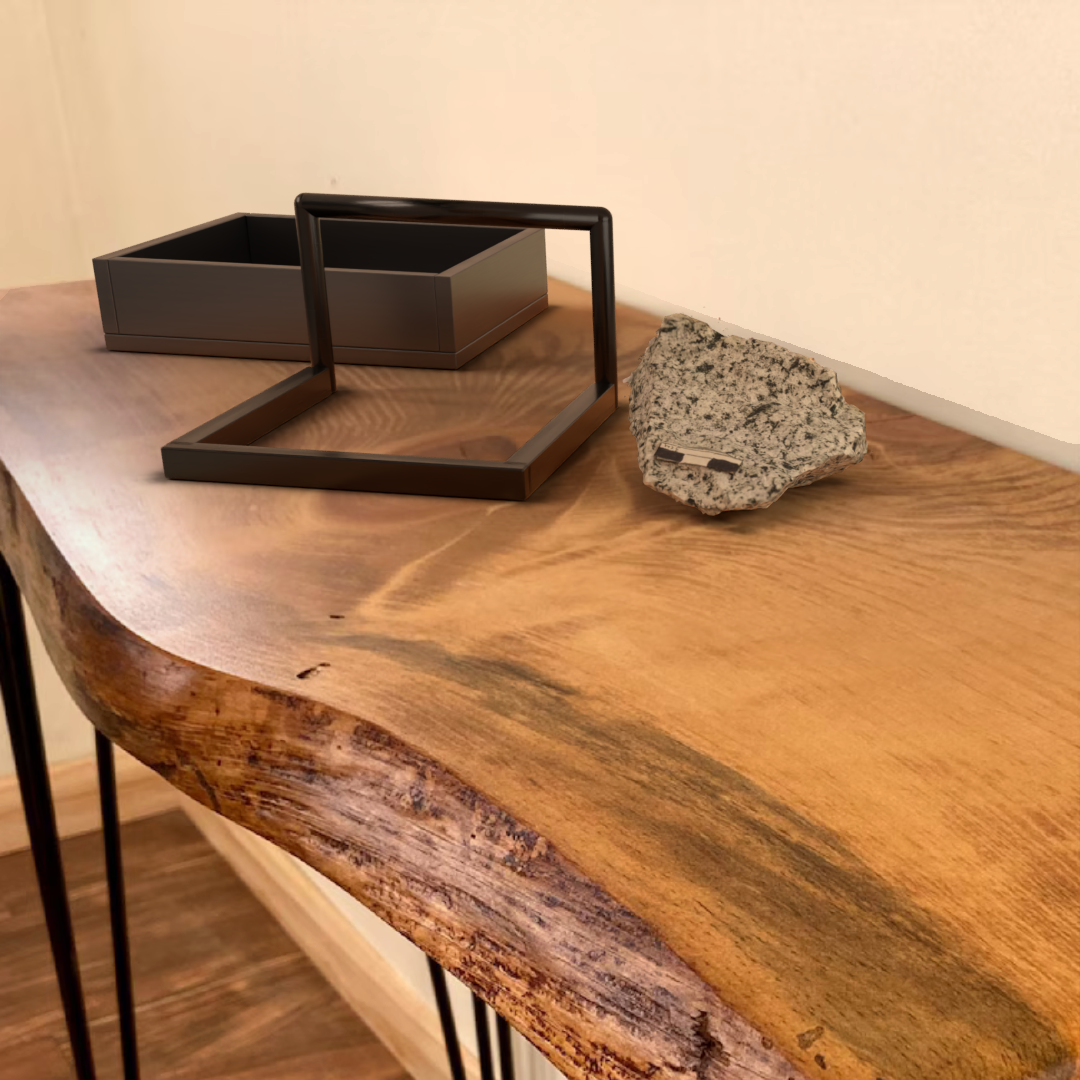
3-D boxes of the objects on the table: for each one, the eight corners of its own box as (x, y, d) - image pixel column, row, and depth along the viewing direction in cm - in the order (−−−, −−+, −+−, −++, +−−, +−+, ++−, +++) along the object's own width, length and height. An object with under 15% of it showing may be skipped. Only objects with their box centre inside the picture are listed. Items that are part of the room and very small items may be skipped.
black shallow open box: (105, 350, 87) (91, 258, 85) (246, 291, 101) (237, 212, 99) (457, 370, 85) (450, 276, 83) (548, 307, 100) (545, 227, 98)
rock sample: (567, 416, 61) (678, 224, 64) (552, 506, 69) (653, 330, 71) (832, 558, 63) (931, 363, 65) (790, 631, 70) (881, 454, 72)
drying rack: (163, 478, 67) (128, 243, 63) (319, 388, 81) (298, 190, 77) (525, 501, 66) (512, 263, 62) (620, 405, 80) (614, 205, 76)
